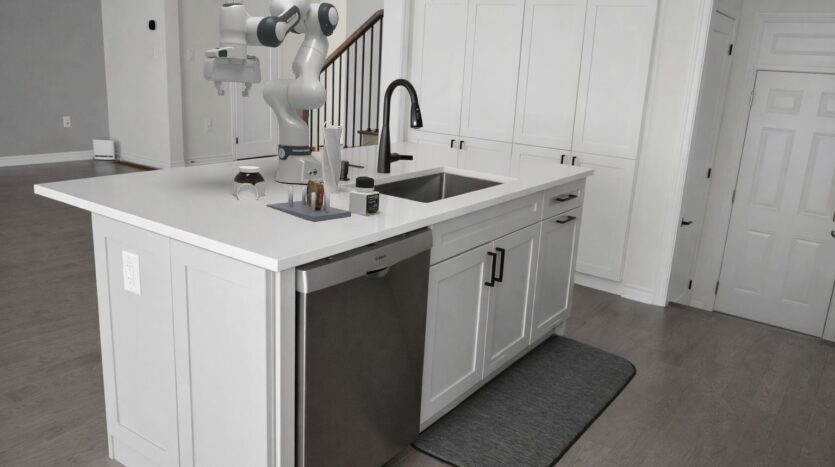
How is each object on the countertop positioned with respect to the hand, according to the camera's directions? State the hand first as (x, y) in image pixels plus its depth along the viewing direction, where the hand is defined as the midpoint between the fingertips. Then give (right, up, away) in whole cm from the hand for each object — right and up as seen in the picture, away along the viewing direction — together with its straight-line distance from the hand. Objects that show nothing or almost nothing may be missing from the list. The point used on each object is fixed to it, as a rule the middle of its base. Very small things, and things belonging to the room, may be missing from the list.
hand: (233, 96), depth 212 cm
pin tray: (+27, -40, -10) cm, 49 cm away
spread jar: (+5, -36, +3) cm, 36 cm away
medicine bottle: (+44, -40, -6) cm, 60 cm away
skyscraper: (+30, -33, +22) cm, 50 cm away
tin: (+29, -38, -8) cm, 48 cm away
